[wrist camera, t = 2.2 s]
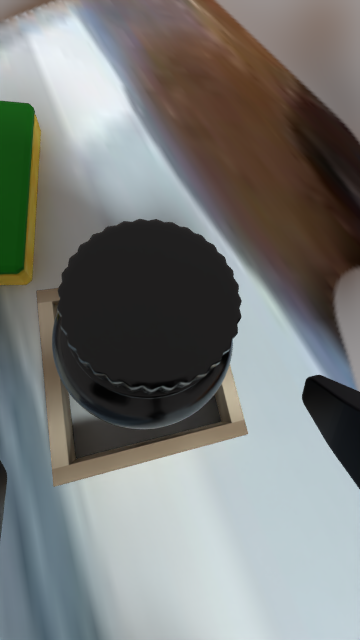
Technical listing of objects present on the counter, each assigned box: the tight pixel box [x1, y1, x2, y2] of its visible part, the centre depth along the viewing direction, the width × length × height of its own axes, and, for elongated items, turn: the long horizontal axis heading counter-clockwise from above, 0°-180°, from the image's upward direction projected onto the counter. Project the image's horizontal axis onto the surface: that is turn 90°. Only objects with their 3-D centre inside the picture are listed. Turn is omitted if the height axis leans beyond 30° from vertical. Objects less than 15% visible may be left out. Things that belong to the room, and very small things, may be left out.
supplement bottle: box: [52, 219, 241, 429], centre depth 13 cm, size 7×7×12 cm
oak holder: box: [36, 288, 248, 487], centre depth 17 cm, size 11×11×2 cm
